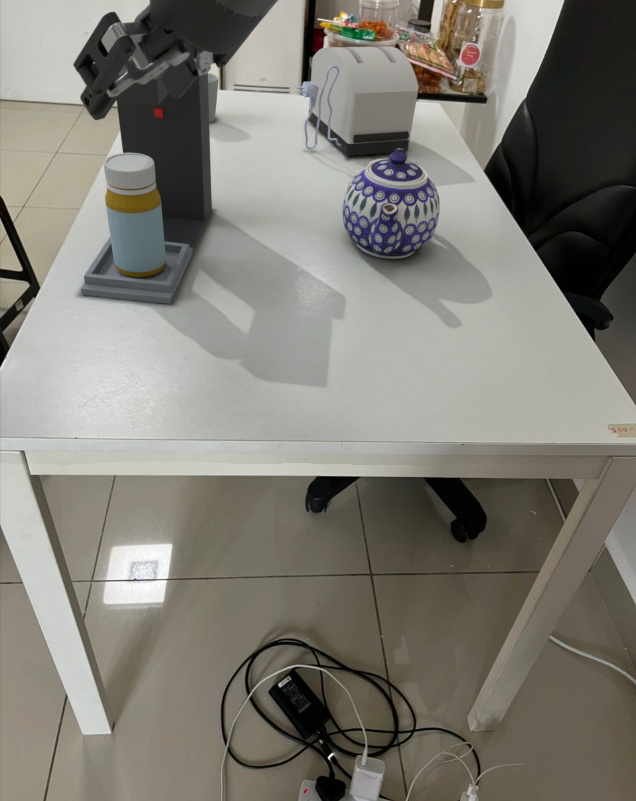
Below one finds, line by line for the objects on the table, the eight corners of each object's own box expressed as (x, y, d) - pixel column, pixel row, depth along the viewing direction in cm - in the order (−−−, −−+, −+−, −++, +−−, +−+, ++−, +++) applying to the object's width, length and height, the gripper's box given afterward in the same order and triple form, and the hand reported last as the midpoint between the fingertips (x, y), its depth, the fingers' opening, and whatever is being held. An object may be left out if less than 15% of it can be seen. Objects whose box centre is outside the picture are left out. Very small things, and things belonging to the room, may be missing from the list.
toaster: (412, 156, 134) (429, 65, 122) (301, 165, 126) (308, 68, 114) (364, 118, 150) (375, 34, 138) (262, 124, 141) (264, 35, 130)
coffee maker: (170, 304, 86) (153, 104, 69) (81, 294, 86) (43, 92, 69) (212, 210, 108) (206, 41, 91) (140, 202, 108) (122, 32, 91)
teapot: (353, 205, 114) (363, 118, 104) (436, 219, 112) (455, 132, 103) (324, 273, 95) (333, 176, 86) (423, 291, 94) (445, 194, 84)
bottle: (131, 285, 87) (117, 177, 77) (106, 263, 91) (89, 157, 81) (175, 271, 91) (168, 166, 81) (149, 250, 94) (139, 147, 84)
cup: (220, 114, 144) (219, 73, 138) (216, 130, 136) (215, 87, 130) (186, 112, 143) (184, 70, 137) (180, 127, 136) (177, 84, 130)
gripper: (271, -97, 46) (170, 45, 58) (112, -96, 37) (32, 72, 49) (323, 2, 47) (214, 121, 60) (183, 26, 39) (88, 160, 51)
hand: (132, 98), depth 55 cm, fingers open, 8 cm apart
